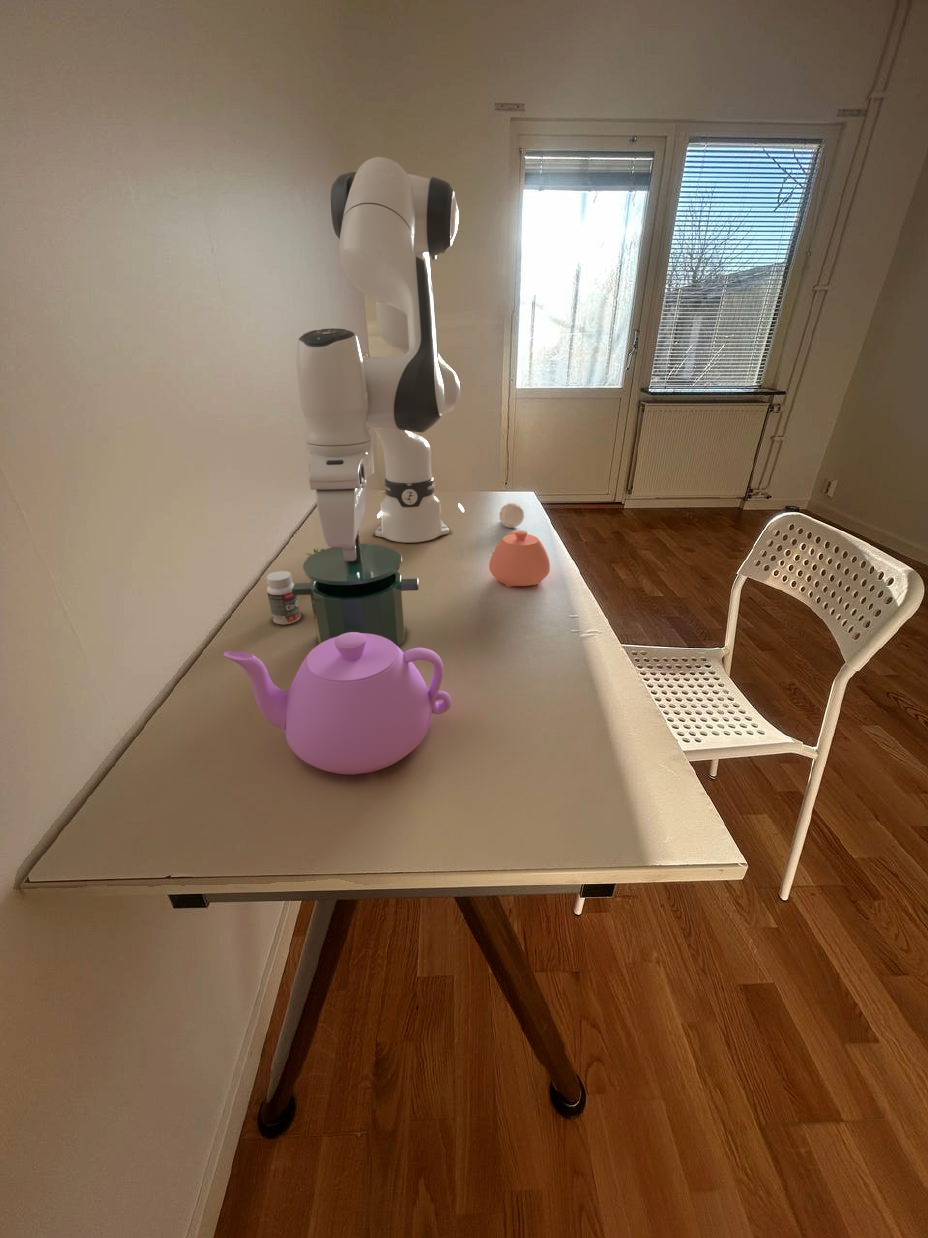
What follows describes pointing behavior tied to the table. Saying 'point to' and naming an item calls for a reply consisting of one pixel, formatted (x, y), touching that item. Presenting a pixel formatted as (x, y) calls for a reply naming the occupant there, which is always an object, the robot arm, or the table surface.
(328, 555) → the lid
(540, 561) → the sugar bowl
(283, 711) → the teapot
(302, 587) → the pot
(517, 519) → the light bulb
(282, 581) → the pill bottle
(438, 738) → the table surface
